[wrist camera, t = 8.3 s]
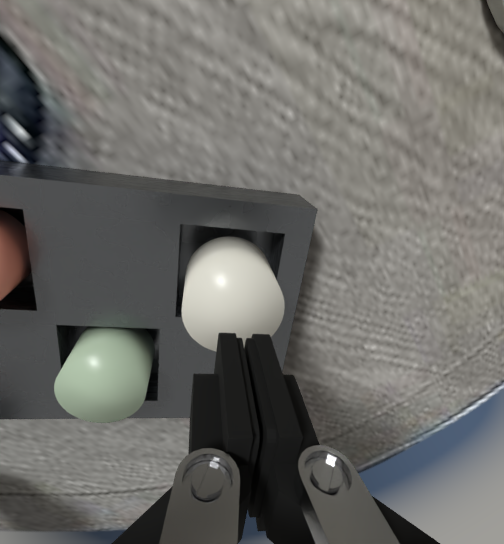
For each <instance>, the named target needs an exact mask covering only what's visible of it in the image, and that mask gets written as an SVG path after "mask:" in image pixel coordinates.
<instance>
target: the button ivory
mask: <svg viewBox="0 0 504 544" xmlns="http://www.w3.org/2000/svg"><path fill="white" fill-rule="evenodd" d="M284 309H285V304H284V297H283V294H282V291H281V289H280V287H279V284H278V282H277V280H276V278H275V276H274V274H273V271H272V269H271V267H270V265H269V263H268V260H267V258H266V257H265V255H264V253H263V252H262V251H261V250H260V249H259V248H258V247H257V246H256V245H255V244H253V243H252V242H250V241H248V240H245V239H243V238H239V237H229V236H227V237H220V238H215V239H213V240H210V241H208V242H206V243H205V244H203V245H202V246H200V247H199V248H198V249H197V250H196V251H195V252H194V253H193V255H192V256H191V258H190V260H189V262H188V265H187V268H186V275H185V284H184V292H183V301H182V319H183V323H184V326H185V328H186V330H187V332H188V333H189V334H190V336H191V337H192V338H193V339H194V340H195V341H196V342H197V343H199V344H200V345H202V346H203V347H205V348H207V349H210V350H213V351H217V342H218V334H219V333H236V336H237V338H242V340H243V345H244V347H245V341H246V338H251V337H252V334H269V335H270V336H272V335H273V334H274V333H275V332H276V331H277V329H278V327H279V326H280V324H281V321H282V319H283V315H284Z"/></svg>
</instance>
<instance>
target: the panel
mask: <svg viewBox="0 0 504 544" xmlns="http://www.w3.org/2000/svg"><path fill="white" fill-rule="evenodd" d="M0 209H1V210H3V211H5V212H7V213H8V214H10V215H12V216H13V217H14V218H16V219H17V220H18V221H19V222H20V223H21V224H22V225H23V226H24V227H25V228H26V234H27V242H28V249H29V256H30V263H31V270H32V272H31V273H30V274H29V275H28V276H27V277H26V278H25V279H24V280H23V281H22V282H21V283H20V284H19V285H17V286H16V287H15V288H14V289H13V290H12V291H11V292H10V293H8V294H7V295H6V296H5V297H4V298H3V299H2V300H1V301H0V419H79V418H77V417H75V416H73V415H71V414H70V413H68V412H67V411H66V410H65V409H64V408H63V407H62V406H61V405H60V404H59V402H58V401H57V399H56V396H55V392H54V384H55V380H56V378H57V376H58V374H59V372H60V371H61V369H62V367H63V365H64V364H65V362H66V360H67V358H68V357H69V355H70V353H71V351H72V350H73V348H74V346H75V344H76V343H77V341H78V339H79V337H80V336H81V334H82V332H83V331H84V330H85V329H86V328H87V327H88V326H98V327H124V328H145V329H146V330H147V331H148V332H149V334H150V335H151V337H152V339H153V341H154V345H155V354H154V359H153V364H152V368H151V373H150V378H149V383H148V387H147V392H146V397H145V400H144V402H143V404H142V406H141V407H140V408H139V409H138V410H137V411H136V412H135V413H134V414H132V415H131V416H129V417H127V418H190V410H191V395H192V382H193V374H214V368H215V359H216V351H213V350H210V349H207V348H205V347H203V346H202V345H200V344H199V343H197V342H196V341H195V340H194V339H193V338H192V337H191V336H190V334H189V333H188V332H187V330H186V328H185V326H184V323H183V319H182V301H183V292H184V284H185V275H186V268H187V265H188V262H189V260H190V258H191V256H192V255H193V253H194V252H195V251H196V250H197V249H198V248H199V247H200V246H202V245H203V244H205V243H206V242H208V241H210V240H213V239H215V238H220V237H227V236H229V237H239V238H243V239H245V240H248V241H250V242H252V243H253V244H255V245H256V246H257V247H258V248H259V249H260V250H261V251H262V252H263V253H264V255H265V257H266V258H267V260H268V263H269V265H270V267H271V269H272V271H273V274H274V276H275V278H276V280H277V282H278V284H279V287H280V289H281V291H282V294H283V297H284V304H285V309H284V315H283V319H282V321H281V324H280V326H279V327H278V329H277V331H276V332H275V333H274V334H273V335H272V336H271V339H272V343H273V346H274V349H275V352H276V355H277V358H278V361H279V364H280V367H281V371H282V370H283V366H284V361H285V357H286V352H287V347H288V343H289V338H290V333H291V329H292V324H293V320H294V315H295V310H296V306H297V301H298V297H299V292H300V287H301V283H302V278H303V273H304V269H305V264H306V260H307V255H308V250H309V246H310V241H311V237H312V232H313V227H314V223H315V218H316V213H317V208H315V207H314V206H313V205H311V204H310V203H309V202H308V201H306V200H305V199H304V198H302V197H301V196H300V195H295V194H287V193H278V192H269V191H261V190H252V189H243V188H235V187H226V186H217V185H209V184H200V183H191V182H183V181H174V180H165V179H157V178H148V177H139V176H131V175H122V174H113V173H105V172H96V171H87V170H79V169H70V168H61V167H53V166H44V165H35V164H27V163H18V162H9V161H1V160H0Z"/></svg>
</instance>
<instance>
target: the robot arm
mask: <svg viewBox="0 0 504 544" xmlns="http://www.w3.org/2000/svg"><path fill="white" fill-rule="evenodd" d="M487 4H488V6H489V8H490V10H491V13H492V15H493V17H494V19H495V21H496V24H497V26H498V27H499V28H500V30H501V31H502V32H503V33H504V0H487ZM247 510H248V512H249V516H250V517H256V522H257V528H258V531H266V535H267V538H269V540H271V541H272V542H273V543H274V544H440V543H438V542H437V541H436V540H434V539H433V538H431V537H430V536H428V535H427V534H425V533H424V532H423V531H421V530H420V529H418V528H417V527H416V526H414V525H413V524H411V523H410V522H408V521H407V520H406V519H404V518H402V517H401V516H400V515H398V514H397V513H396V512H394V511H393V510H391V509H390V508H388V507H387V506H386V505H384V504H383V503H381V502H380V501H378V500H377V499H375V498H374V497H373V496H371V494H370V493H369V491H368V489H367V488H366V486H365V484H364V482H363V481H362V479H361V478H360V476H359V474H358V472H357V471H356V469H355V467H354V466H353V464H352V463H351V462H350V461H349V459H348V458H347V457H346V456H344V455H343V454H342V453H341V452H339V451H337V450H336V449H334V448H332V447H328V446H324V445H319V442H318V439H317V437H316V434H315V431H314V428H313V426H312V423H311V420H310V417H309V415H308V412H307V409H306V406H305V404H304V401H303V398H302V395H301V393H300V390H299V387H298V385H297V382H296V379H295V377H294V376H293V375H283V374H282V371H281V367H280V364H279V361H278V358H277V355H276V352H275V349H274V346H273V343H272V339H271V336H270V335H269V334H252V337H251V338H246V341H245V347H244V345H243V340H242V338H237V336H236V333H219V334H218V342H217V351H216V359H215V368H214V374H193V382H192V395H191V410H190V432H189V455H187V456H186V457H185V458H184V459H183V460H182V462H181V463H180V464H179V466H178V469H177V471H176V474H175V478H174V483H173V486H172V487H171V488H170V489H169V490H168V491H167V492H166V493H165V494H164V495H163V496H162V497H161V498H160V499H159V500H158V501H157V502H156V503H154V504H153V505H152V506H151V507H150V508H149V509H148V510H147V511H146V512H145V513H144V514H143V515H142V516H141V517H140V518H139V519H137V520H136V521H135V522H134V523H133V524H132V525H131V526H130V527H129V528H128V529H127V530H126V531H125V532H124V533H123V534H122V535H120V536H119V537H118V538H117V539H116V540H115V541H114V542H113V543H112V544H238V543H239V542H240V540H241V538H242V534H243V529H244V524H245V519H246V514H247Z"/></svg>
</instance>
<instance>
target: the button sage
mask: <svg viewBox="0 0 504 544" xmlns="http://www.w3.org/2000/svg"><path fill="white" fill-rule="evenodd" d="M154 354H155V345H154V341H153V339H152V337H151V335H150V334H149V332H148V331H147V330H146V329H145V328H124V327H98V326H88V327H87V328H86V329H85V330H84V331H83V332H82V334H81V336H80V337H79V339H78V341H77V343H76V344H75V346H74V348H73V350H72V351H71V353H70V355H69V357H68V358H67V360H66V362H65V364H64V365H63V367H62V369H61V371H60V372H59V374H58V376H57V378H56V380H55V384H54V392H55V396H56V399H57V401H58V402H59V404H60V405H61V406H62V407H63V408H64V409H65V410H66V411H67V412H68V413H70V414H71V415H73V416H75V417H77V418H79V419H82V420H85V421H89V422H95V423H110V422H116V421H120V420H122V419H125V418H127V417H129V416H131V415H132V414H134V413H135V412H136V411H137V410H138V409H139V408H140V407H141V406H142V404H143V402H144V400H145V397H146V392H147V387H148V383H149V378H150V373H151V368H152V364H153V359H154Z"/></svg>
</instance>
